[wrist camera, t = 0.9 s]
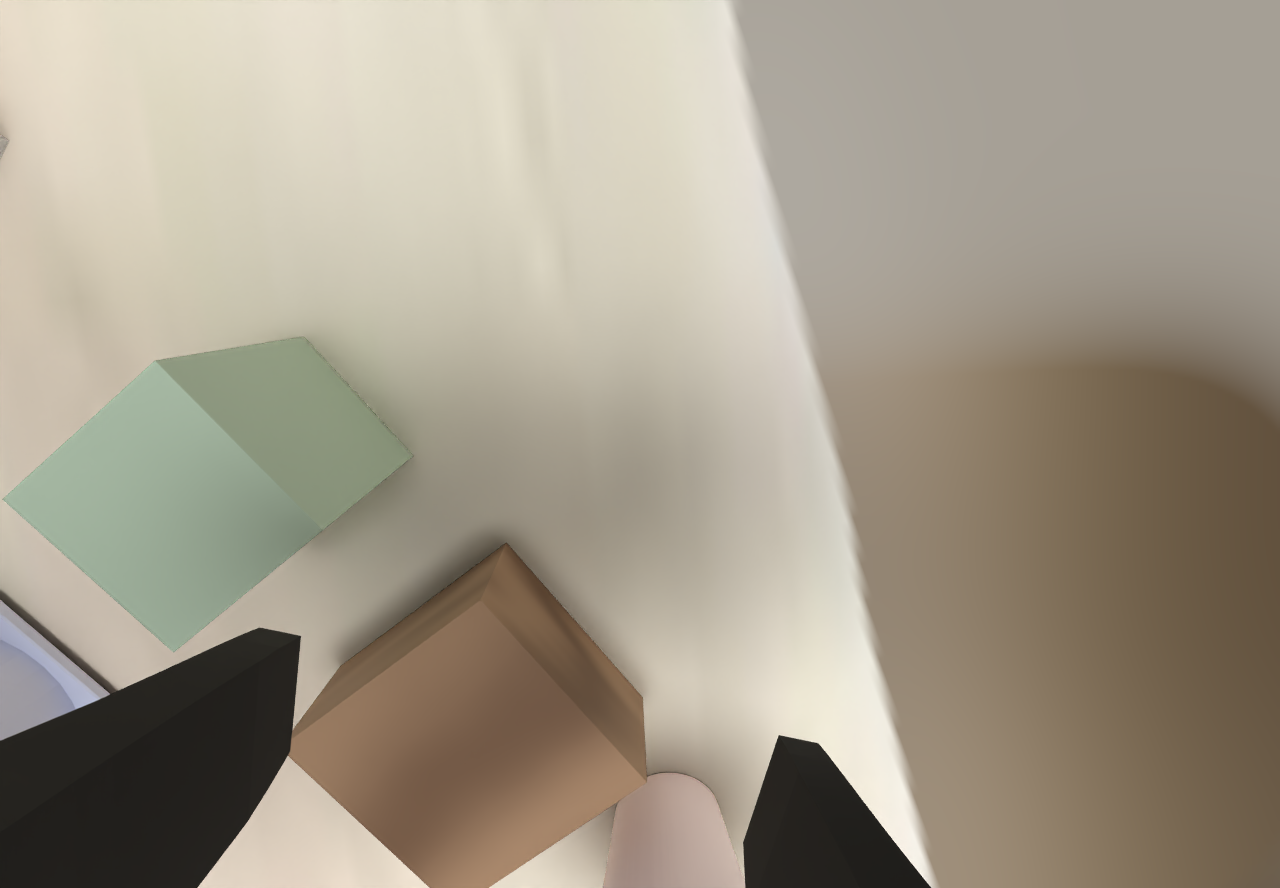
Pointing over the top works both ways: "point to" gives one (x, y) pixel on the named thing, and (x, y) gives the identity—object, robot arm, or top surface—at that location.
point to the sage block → (207, 479)
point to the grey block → (3, 144)
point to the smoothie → (671, 838)
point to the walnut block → (476, 729)
